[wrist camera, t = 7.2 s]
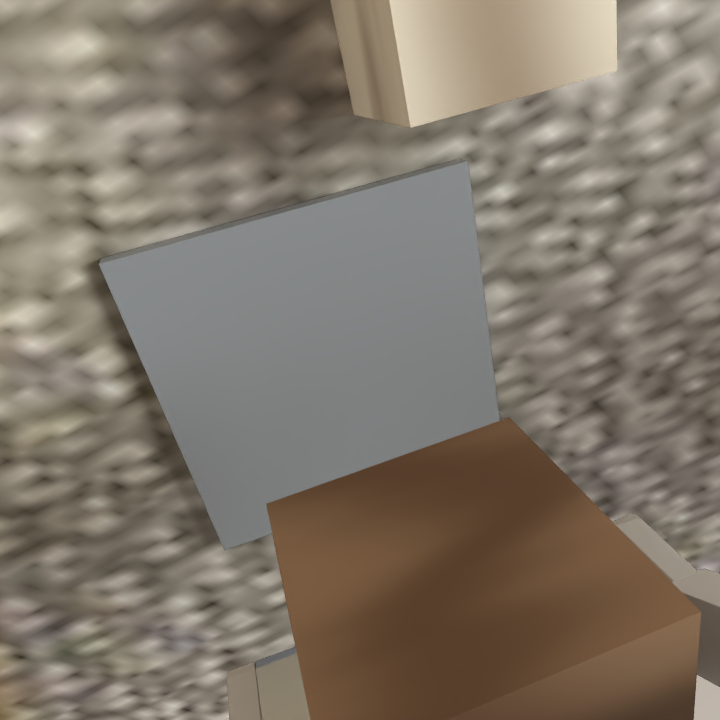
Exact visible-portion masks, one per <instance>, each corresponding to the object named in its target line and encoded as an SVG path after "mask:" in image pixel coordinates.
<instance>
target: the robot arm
mask: <svg viewBox="0 0 720 720" xmlns="http://www.w3.org/2000/svg"><path fill="white" fill-rule="evenodd" d="M612 522H613V523H614V524H615V525H616V526H617V527H618V528H619V529H620V530H621V531H622V532H623V533H624V534H625V535H626V536H627V537H628V538H629V539H630V540H631V541H632V542H633V543H634V544H635V545H636V546H637V547H638V548H639V549H640V550H641V551H642V552H643V553H644V554H645V555H646V557H647V558H648V559H649V560H650V561H651V562H652V563H653V564H654V565H655V566H656V567H657V568H658V569H659V570H660V571H661V572H662V573H663V574H664V575H665V576H666V577H667V578H668V579H669V580H670V581H671V582H672V583H673V584H674V585H675V586H676V587H677V588H678V589H679V590H680V591H681V592H682V593H683V594H684V595H685V596H686V597H687V598H688V599H689V600H690V601H691V602H692V603H693V604H694V605H695V606H696V607H697V608H698V609H699V610H700V611H701V619H700V633H699V647H698V662H697V675H699V676H701V677H702V678H704V679H706V680H708V681H710V682H711V683H713V684H715V685H717V686H719V687H720V574H719V573H716V572H713V571H710V570H707V569H701V570H699V571H697V570H696V569H695V568H694V567H692V566H691V565H690V564H689V563H688V562H687V561H686V560H685V559H684V558H683V557H682V556H681V555H680V554H678V553H677V552H676V551H675V550H674V549H673V548H672V547H671V546H670V545H669V544H668V543H667V542H666V541H664V540H663V539H662V538H661V537H660V536H659V535H658V534H657V533H656V532H655V531H654V530H653V529H652V528H650V527H649V526H648V525H647V524H646V523H645V522H644V521H643V520H642V519H641V518H640V517H639V516H637V515H634V514H630V515H627V516H625V517H622V518H619V519H617V520H614V521H612ZM227 693H228V706H229V719H230V720H310V715H309V710H308V705H307V700H306V695H305V690H304V685H303V681H302V676H301V671H300V666H299V661H298V656H297V651H296V647H294V648H291V649H288V650H285V651H283V652H280V653H277V654H274V655H272V656H269V657H266V658H263V659H261V660H258V661H255V662H253V663H250V664H248V665H245V666H242V667H240V668H237V669H234V670H232V671H229V672H228V676H227Z"/></svg>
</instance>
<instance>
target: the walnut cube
mask: <svg viewBox="0 0 720 720" xmlns="http://www.w3.org/2000/svg"><path fill="white" fill-rule="evenodd" d="M266 505H267V510H268V515H269V520H270V525H271V530H272V535H273V539H274V544H275V549H276V554H277V559H278V564H279V569H280V574H281V578H282V583H283V588H284V593H285V598H286V603H287V608H288V612H289V617H290V622H291V627H292V632H293V637H294V642H295V647H296V651H297V656H298V661H299V666H300V671H301V676H302V681H303V685H304V690H305V695H306V700H307V705H308V710H309V715H310V720H693V719H694V705H695V691H696V676H697V662H698V647H699V633H700V619H701V611H700V610H699V609H698V608H697V607H696V606H695V605H694V604H693V603H692V602H691V601H690V600H689V599H688V598H687V597H686V596H685V595H684V594H683V593H682V592H681V591H680V590H679V589H678V588H677V587H676V586H675V585H674V584H673V583H672V582H671V581H670V580H669V579H668V578H667V577H666V576H665V575H664V574H663V573H662V572H661V571H660V570H659V569H658V568H657V567H656V566H655V565H654V564H653V563H652V562H651V561H650V560H649V559H648V558H647V557H646V555H645V554H644V553H643V552H642V551H641V550H640V549H639V548H638V547H637V546H636V545H635V544H634V543H633V542H632V541H631V540H630V539H629V538H628V537H627V536H626V535H625V534H624V533H623V532H622V531H621V530H620V529H619V528H618V527H617V526H616V525H615V524H614V523H613V522H612V521H611V520H610V519H609V518H608V517H607V516H606V515H605V514H604V513H603V512H602V511H601V510H600V509H599V508H598V507H597V506H596V505H595V504H594V503H593V502H592V501H591V500H590V499H589V498H588V497H587V496H586V495H585V494H584V493H583V492H582V491H581V490H580V489H579V488H578V487H577V486H576V485H575V484H574V483H573V482H572V481H571V480H570V479H569V477H568V476H567V475H566V474H565V473H564V472H563V471H562V470H561V469H560V468H559V467H558V466H557V465H556V464H555V463H554V462H553V461H552V460H551V459H550V458H549V457H548V456H547V455H546V454H545V453H544V452H543V451H542V450H541V449H540V448H539V447H538V446H537V445H536V444H535V443H534V442H533V441H532V440H531V439H530V438H529V437H528V436H527V435H526V434H525V433H524V432H523V431H522V430H521V429H520V428H519V427H518V426H517V425H516V424H515V423H514V422H513V421H512V420H511V419H510V418H506V419H503V420H501V421H498V422H495V423H492V424H489V425H486V426H484V427H481V428H478V429H475V430H472V431H470V432H467V433H464V434H461V435H458V436H455V437H453V438H450V439H447V440H444V441H441V442H439V443H436V444H433V445H430V446H427V447H425V448H422V449H419V450H416V451H413V452H410V453H408V454H405V455H402V456H399V457H396V458H394V459H391V460H388V461H385V462H382V463H380V464H377V465H374V466H371V467H368V468H365V469H363V470H360V471H357V472H354V473H351V474H349V475H346V476H343V477H340V478H337V479H334V480H332V481H329V482H326V483H323V484H320V485H318V486H315V487H312V488H309V489H306V490H304V491H301V492H298V493H295V494H292V495H289V496H287V497H284V498H281V499H278V500H275V501H273V502H270V503H267V504H266Z"/></svg>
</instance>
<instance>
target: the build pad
mask: <svg viewBox="0 0 720 720" xmlns="http://www.w3.org/2000/svg"><path fill="white" fill-rule="evenodd" d="M99 266H100V268H101V271H102V273H103V275H104V277H105V280H106V282H107V284H108V287H109V289H110V291H111V293H112V296H113V298H114V300H115V303H116V305H117V307H118V309H119V312H120V314H121V316H122V318H123V321H124V323H125V325H126V328H127V330H128V332H129V334H130V337H131V339H132V341H133V343H134V346H135V348H136V350H137V353H138V355H139V357H140V359H141V362H142V364H143V366H144V369H145V371H146V373H147V375H148V378H149V380H150V382H151V384H152V387H153V389H154V391H155V394H156V396H157V398H158V400H159V403H160V405H161V407H162V410H163V412H164V414H165V416H166V419H167V421H168V423H169V425H170V428H171V430H172V432H173V435H174V437H175V439H176V441H177V444H178V446H179V448H180V451H181V453H182V455H183V457H184V460H185V462H186V464H187V466H188V469H189V471H190V473H191V476H192V478H193V480H194V482H195V485H196V487H197V489H198V492H199V494H200V496H201V498H202V501H203V503H204V505H205V507H206V510H207V512H208V514H209V517H210V519H211V521H212V523H213V526H214V528H215V530H216V533H217V535H218V537H219V539H220V542H221V544H222V546H223V548H224V550H227V549H230V548H233V547H235V546H238V545H241V544H244V543H247V542H250V541H252V540H255V539H258V538H261V537H264V536H266V535H269V534H272V530H271V525H270V520H269V515H268V510H267V505H266V504H267V503H270V502H273V501H275V500H278V499H281V498H284V497H287V496H289V495H292V494H295V493H298V492H301V491H304V490H306V489H309V488H312V487H315V486H318V485H320V484H323V483H326V482H329V481H332V480H334V479H337V478H340V477H343V476H346V475H349V474H351V473H354V472H357V471H360V470H363V469H365V468H368V467H371V466H374V465H377V464H380V463H382V462H385V461H388V460H391V459H394V458H396V457H399V456H402V455H405V454H408V453H410V452H413V451H416V450H419V449H422V448H425V447H427V446H430V445H433V444H436V443H439V442H441V441H444V440H447V439H450V438H453V437H455V436H458V435H461V434H464V433H467V432H470V431H472V430H475V429H478V428H481V427H484V426H486V425H489V424H492V423H495V422H498V421H500V419H499V410H498V402H497V394H496V386H495V378H494V370H493V362H492V353H491V345H490V337H489V329H488V321H487V313H486V304H485V296H484V288H483V280H482V272H481V264H480V256H479V247H478V239H477V231H476V223H475V215H474V207H473V198H472V190H471V182H470V174H469V166H468V161H466V160H463V159H457V160H453V161H450V162H446V163H443V164H439V165H435V166H432V167H428V168H425V169H421V170H417V171H414V172H410V173H407V174H403V175H399V176H396V177H392V178H389V179H385V180H381V181H378V182H374V183H371V184H367V185H363V186H360V187H356V188H353V189H349V190H345V191H342V192H338V193H335V194H331V195H327V196H324V197H320V198H317V199H313V200H309V201H306V202H302V203H299V204H295V205H291V206H288V207H284V208H281V209H277V210H273V211H270V212H266V213H263V214H259V215H256V216H252V217H248V218H245V219H241V220H238V221H234V222H230V223H227V224H223V225H220V226H216V227H212V228H209V229H205V230H202V231H198V232H194V233H191V234H187V235H184V236H180V237H176V238H173V239H169V240H166V241H162V242H158V243H155V244H151V245H148V246H144V247H140V248H137V249H133V250H130V251H126V252H122V253H119V254H115V255H112V256H108V257H104V258H101V260H100V262H99Z"/></svg>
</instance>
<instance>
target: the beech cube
mask: <svg viewBox="0 0 720 720" xmlns="http://www.w3.org/2000/svg"><path fill="white" fill-rule="evenodd" d="M330 2H331V7H332V12H333V17H334V21H335V26H336V31H337V36H338V41H339V45H340V50H341V55H342V60H343V65H344V69H345V74H346V79H347V84H348V89H349V93H350V98H351V103H352V108H353V113H354V115H357V116H362V117H366V118H370V119H375V120H379V121H383V122H388V123H392V124H396V125H401V126H405V127H409V128H412V127H415V126H419V125H423V124H426V123H430V122H433V121H437V120H441V119H444V118H448V117H452V116H455V115H459V114H463V113H466V112H470V111H474V110H477V109H481V108H485V107H488V106H492V105H495V104H499V103H503V102H506V101H510V100H514V99H517V98H521V97H525V96H528V95H532V94H536V93H539V92H543V91H547V90H550V89H554V88H557V87H561V86H565V85H568V84H572V83H576V82H579V81H583V80H587V79H590V78H594V77H598V76H601V75H605V74H609V73H612V72H616V71H617V22H616V0H330Z"/></svg>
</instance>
